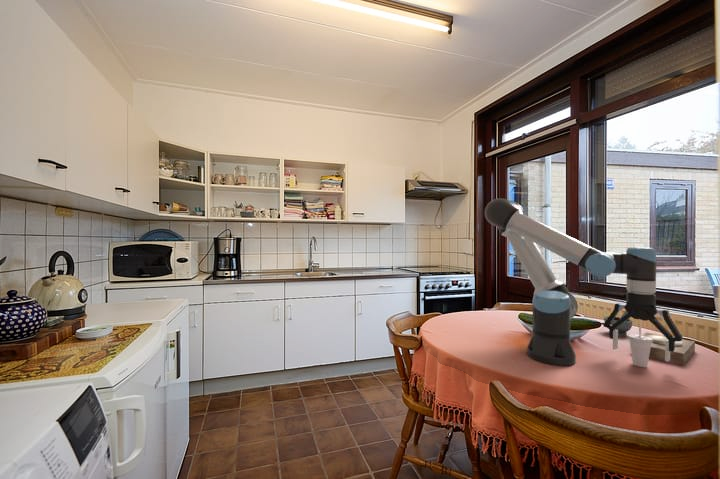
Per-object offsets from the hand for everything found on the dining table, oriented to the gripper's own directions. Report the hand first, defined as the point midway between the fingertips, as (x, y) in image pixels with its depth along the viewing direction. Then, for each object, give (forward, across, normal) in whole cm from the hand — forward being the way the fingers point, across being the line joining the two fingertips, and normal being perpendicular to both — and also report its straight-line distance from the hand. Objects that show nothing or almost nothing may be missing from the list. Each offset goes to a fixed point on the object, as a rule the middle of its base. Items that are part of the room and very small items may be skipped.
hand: (640, 354), depth 108 cm
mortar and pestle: (+4, +15, -38) cm, 41 cm away
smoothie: (+4, 0, 0) cm, 4 cm away
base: (+4, -2, -23) cm, 23 cm away
